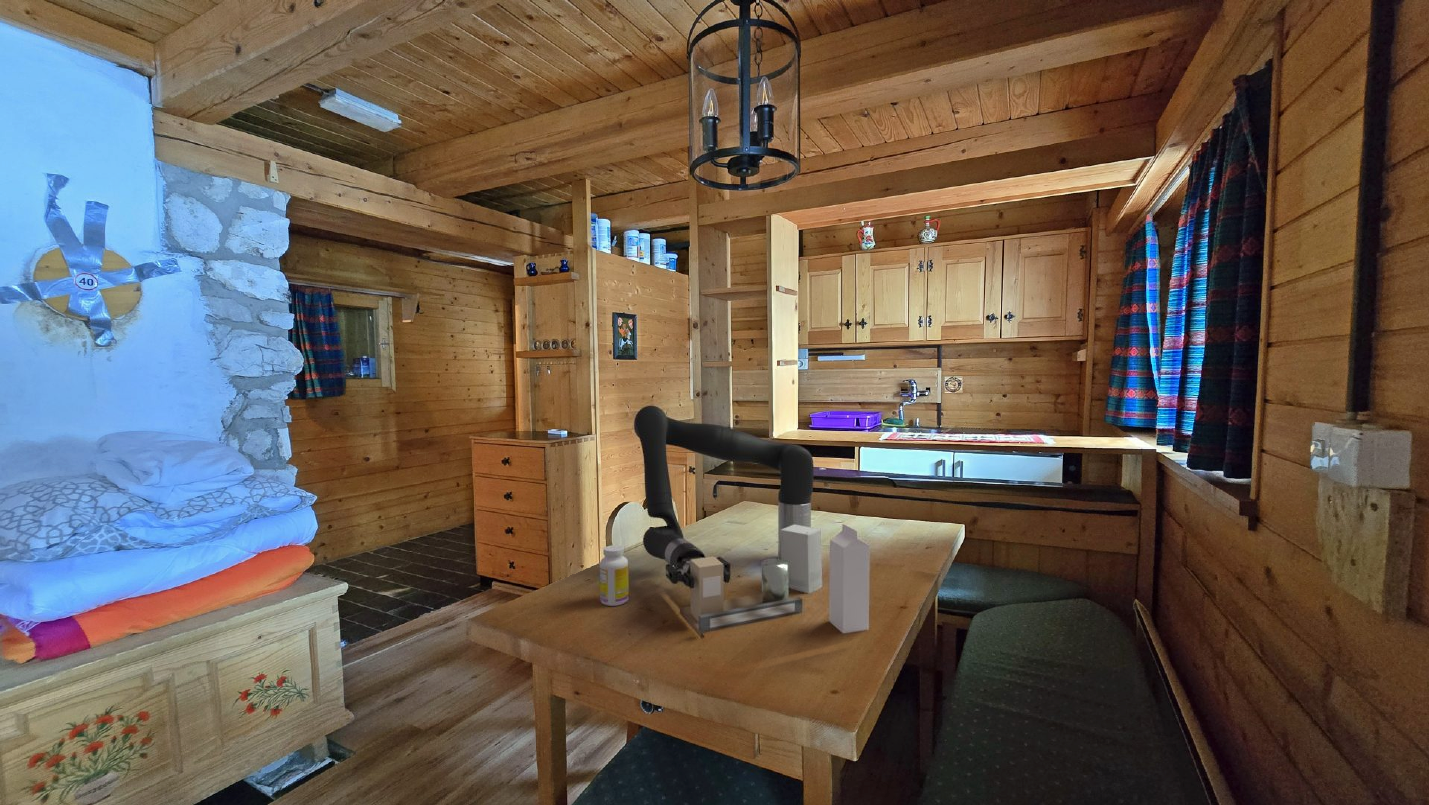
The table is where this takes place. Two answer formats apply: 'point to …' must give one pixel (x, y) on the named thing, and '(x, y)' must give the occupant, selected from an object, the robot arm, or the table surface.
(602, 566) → the supplement bottle
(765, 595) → the oat tin
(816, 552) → the skincare box
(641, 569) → the table surface
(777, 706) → the table surface
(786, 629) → the table surface
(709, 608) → the kraft carton
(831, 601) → the milk
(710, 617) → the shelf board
